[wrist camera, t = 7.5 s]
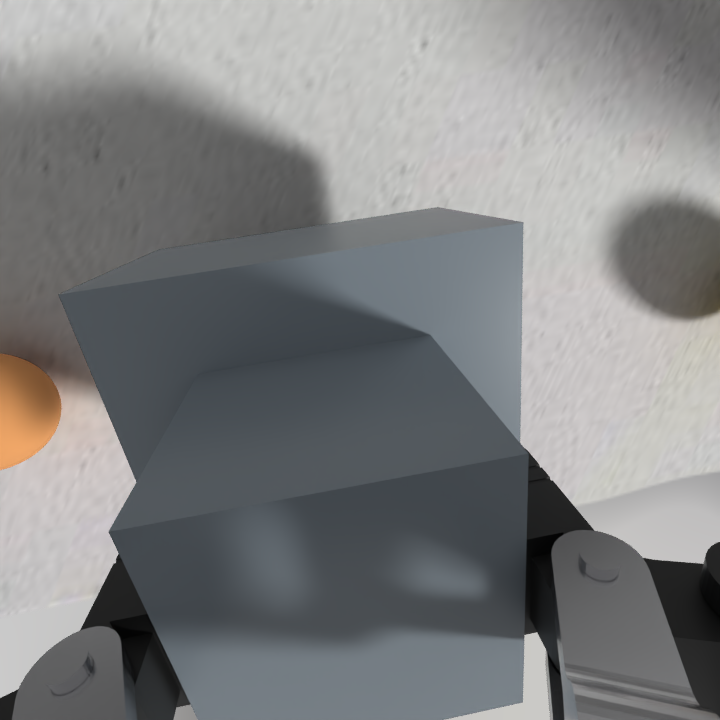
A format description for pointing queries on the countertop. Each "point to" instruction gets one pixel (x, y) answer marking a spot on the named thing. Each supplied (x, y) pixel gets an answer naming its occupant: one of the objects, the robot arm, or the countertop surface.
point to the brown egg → (25, 410)
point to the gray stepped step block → (324, 463)
